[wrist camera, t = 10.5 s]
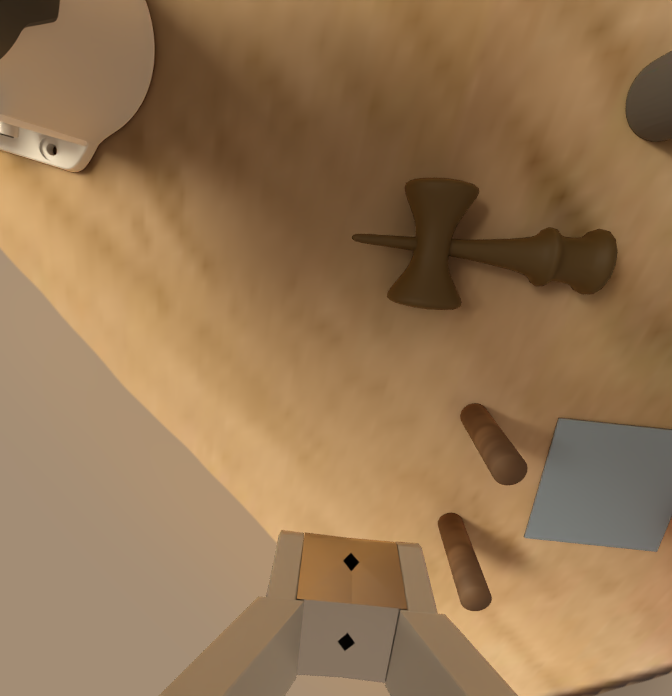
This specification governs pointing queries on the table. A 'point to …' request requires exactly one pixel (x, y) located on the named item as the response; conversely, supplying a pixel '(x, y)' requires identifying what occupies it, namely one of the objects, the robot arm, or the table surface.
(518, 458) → the post
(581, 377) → the table surface
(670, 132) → the bottle
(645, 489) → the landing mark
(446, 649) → the robot arm
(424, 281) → the kendama
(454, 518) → the post
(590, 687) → the table surface
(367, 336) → the table surface
